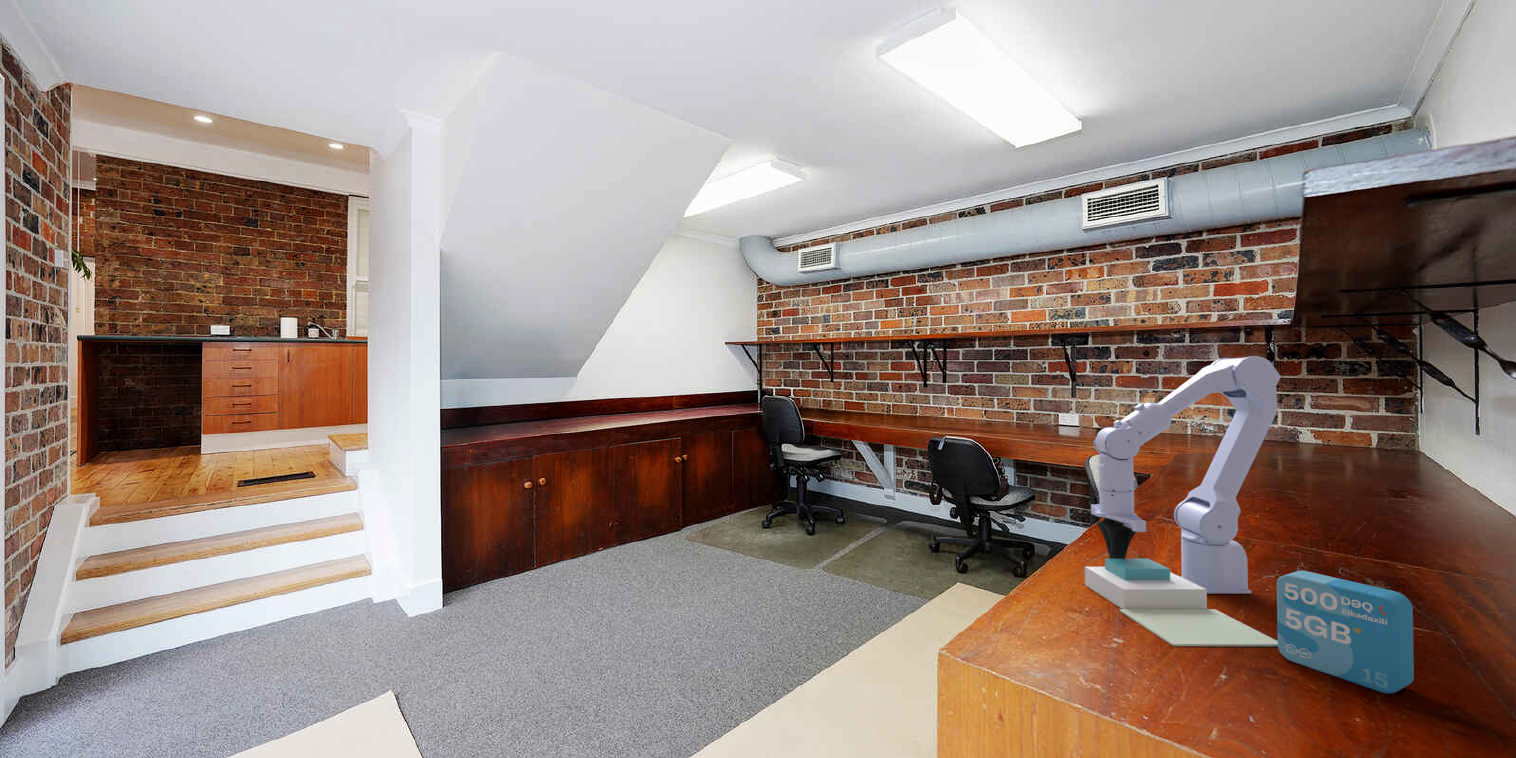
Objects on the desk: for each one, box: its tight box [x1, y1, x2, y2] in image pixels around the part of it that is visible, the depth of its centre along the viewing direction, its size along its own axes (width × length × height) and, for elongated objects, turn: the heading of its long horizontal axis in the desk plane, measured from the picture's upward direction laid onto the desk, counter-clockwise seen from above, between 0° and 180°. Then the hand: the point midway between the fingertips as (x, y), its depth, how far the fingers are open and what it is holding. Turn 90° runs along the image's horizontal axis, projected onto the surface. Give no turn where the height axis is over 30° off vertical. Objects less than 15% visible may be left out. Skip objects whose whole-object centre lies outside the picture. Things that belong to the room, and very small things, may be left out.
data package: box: [1276, 570, 1415, 694], centre depth 76 cm, size 12×4×12 cm, turn 26°
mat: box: [1119, 608, 1278, 647], centre depth 90 cm, size 16×13×1 cm
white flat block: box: [1084, 566, 1208, 609], centre depth 104 cm, size 14×12×4 cm
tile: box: [1104, 558, 1171, 580], centre depth 105 cm, size 8×6×2 cm
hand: (1117, 559), depth 111 cm, fingers closed
